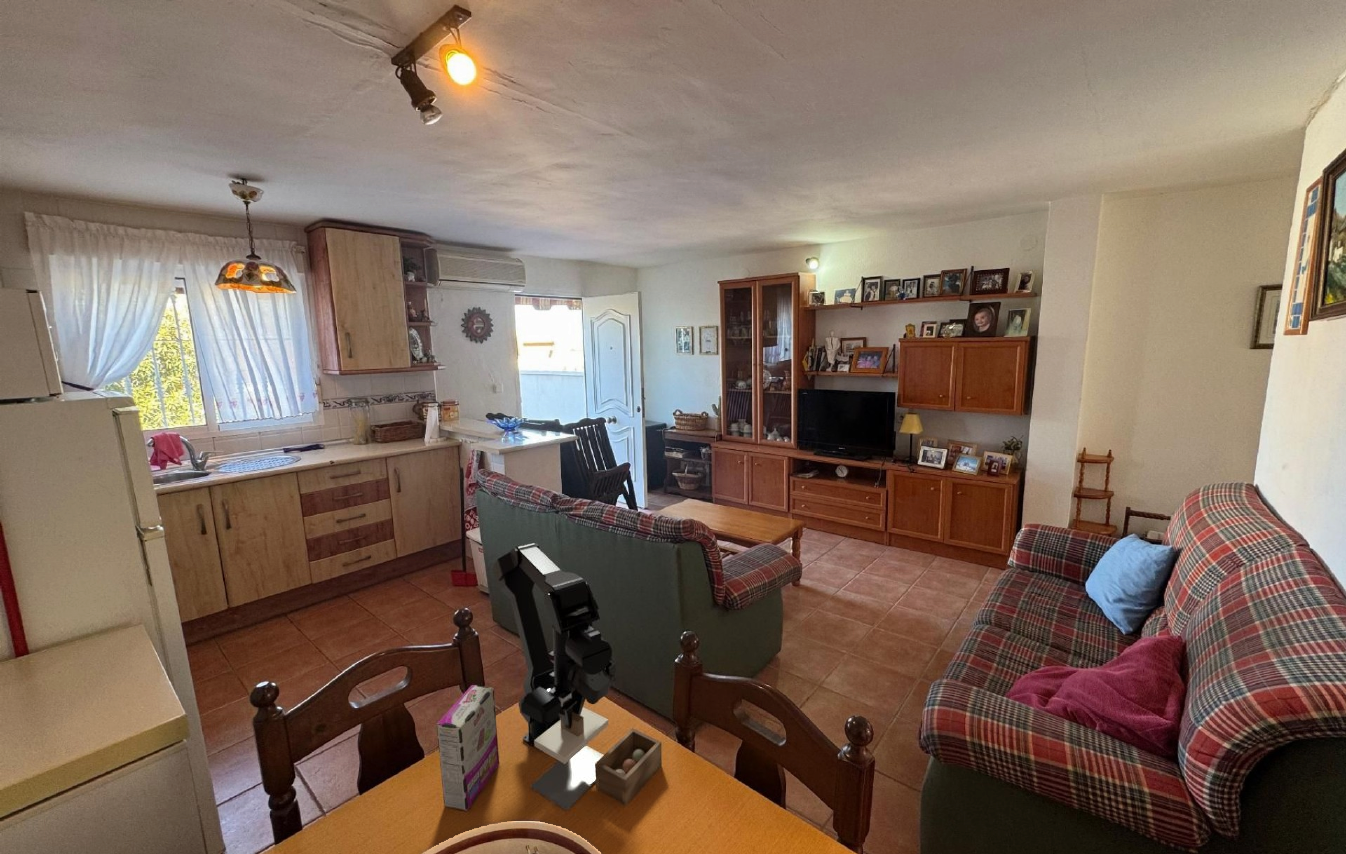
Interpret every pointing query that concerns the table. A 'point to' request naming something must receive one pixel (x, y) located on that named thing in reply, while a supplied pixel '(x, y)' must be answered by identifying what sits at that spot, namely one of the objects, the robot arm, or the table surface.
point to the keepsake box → (628, 766)
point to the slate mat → (569, 778)
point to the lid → (571, 735)
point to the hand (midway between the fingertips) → (571, 725)
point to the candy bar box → (468, 746)
